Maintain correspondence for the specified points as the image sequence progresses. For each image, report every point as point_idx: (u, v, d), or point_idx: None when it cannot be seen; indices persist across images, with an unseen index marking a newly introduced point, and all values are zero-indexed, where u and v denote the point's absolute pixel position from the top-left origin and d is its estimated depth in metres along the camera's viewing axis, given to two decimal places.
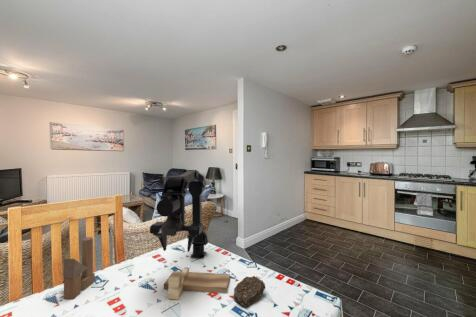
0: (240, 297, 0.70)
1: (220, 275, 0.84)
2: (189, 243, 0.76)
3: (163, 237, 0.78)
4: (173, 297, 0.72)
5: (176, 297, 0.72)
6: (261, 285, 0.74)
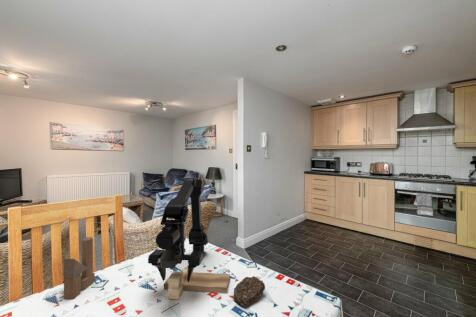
0: (240, 297, 0.70)
1: (220, 275, 0.84)
2: (189, 273, 0.73)
3: None
4: (173, 297, 0.72)
5: (176, 297, 0.72)
6: (261, 285, 0.74)
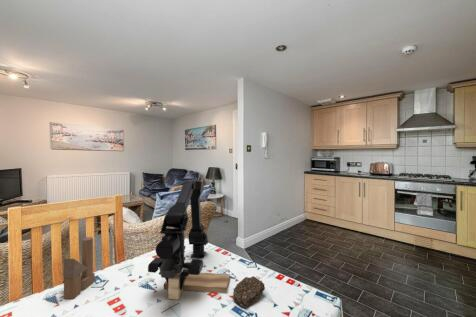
0: (239, 298, 0.70)
1: (220, 275, 0.84)
2: (182, 281, 0.73)
3: None
4: (173, 297, 0.72)
5: (176, 297, 0.72)
6: (260, 286, 0.73)
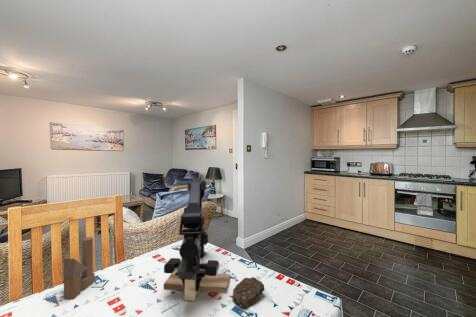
0: (239, 298, 0.69)
1: (220, 275, 0.84)
2: (198, 282, 0.73)
3: None
4: (189, 298, 0.72)
5: (192, 298, 0.71)
6: (260, 286, 0.73)
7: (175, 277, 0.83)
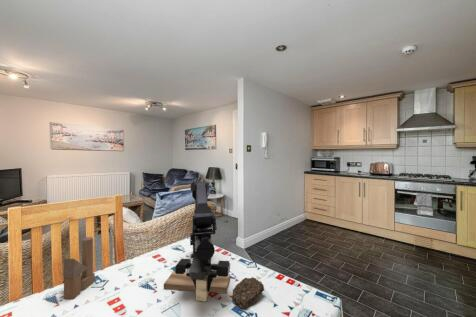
0: (238, 299, 0.69)
1: None
2: (209, 283, 0.72)
3: None
4: (201, 299, 0.71)
5: (204, 299, 0.71)
6: (260, 286, 0.73)
7: (175, 277, 0.83)
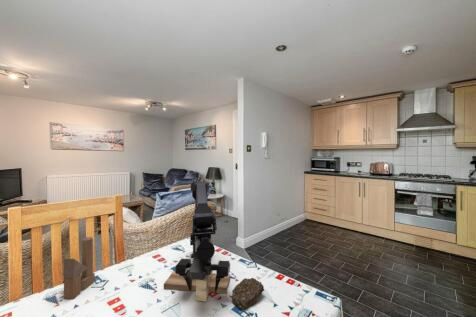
0: (238, 299, 0.69)
1: None
2: (217, 284, 0.72)
3: (189, 276, 0.74)
4: (201, 299, 0.71)
5: (204, 299, 0.71)
6: (259, 287, 0.73)
7: (175, 277, 0.83)
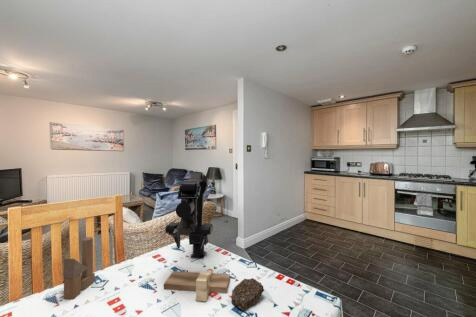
0: (238, 300, 0.69)
1: (220, 275, 0.84)
2: (201, 242, 0.84)
3: (177, 236, 0.86)
4: (201, 299, 0.71)
5: (204, 299, 0.71)
6: (259, 288, 0.72)
7: (175, 277, 0.83)
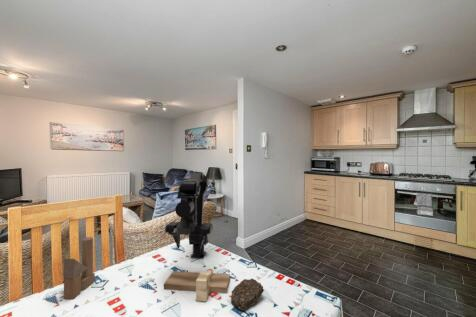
0: (237, 300, 0.68)
1: (220, 275, 0.84)
2: (201, 241, 0.84)
3: (177, 236, 0.86)
4: (201, 299, 0.71)
5: (204, 299, 0.71)
6: (259, 288, 0.72)
7: (175, 277, 0.83)
